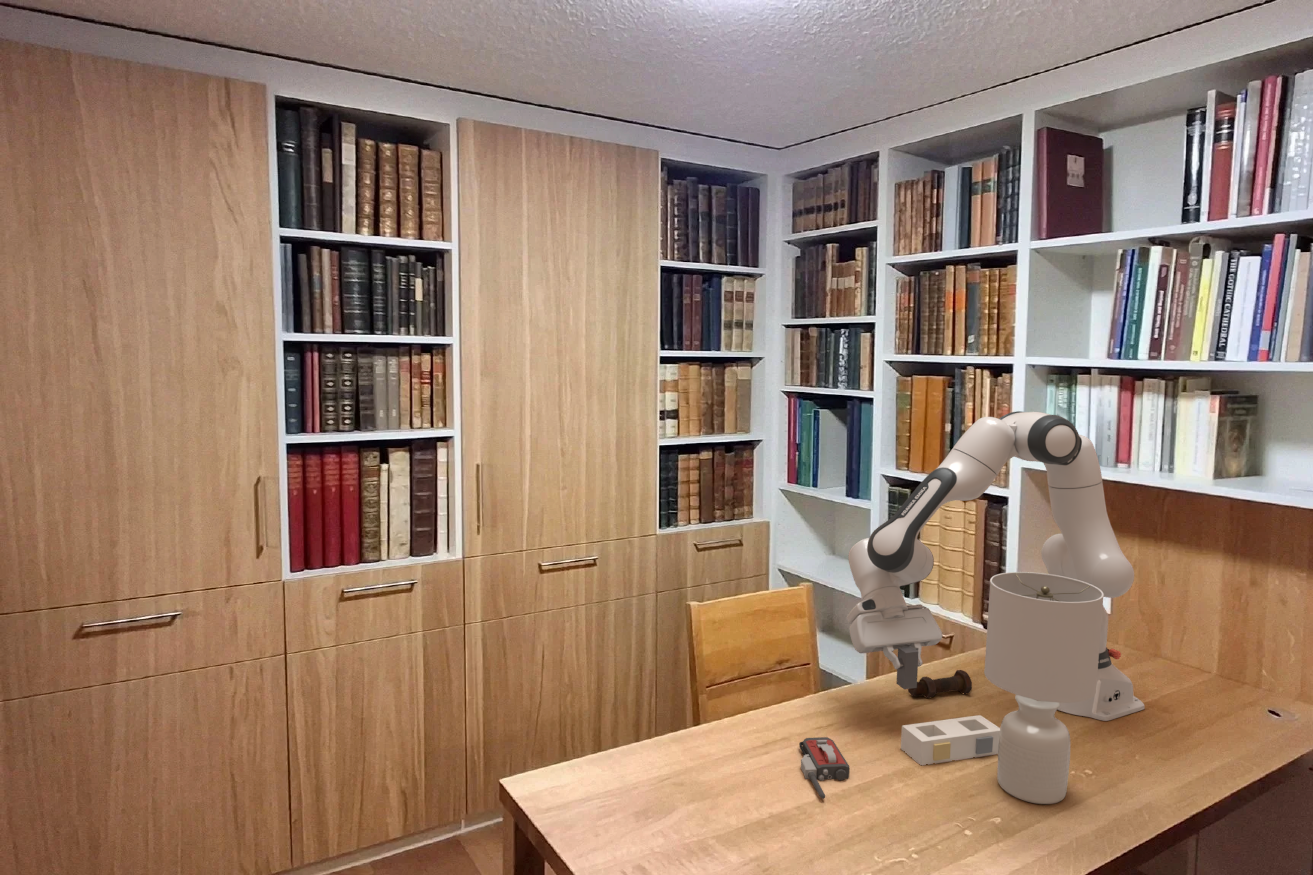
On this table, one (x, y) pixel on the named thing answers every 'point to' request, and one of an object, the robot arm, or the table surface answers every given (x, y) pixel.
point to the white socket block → (950, 739)
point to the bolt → (943, 685)
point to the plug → (908, 668)
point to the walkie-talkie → (822, 761)
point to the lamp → (1040, 673)
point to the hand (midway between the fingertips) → (909, 666)
